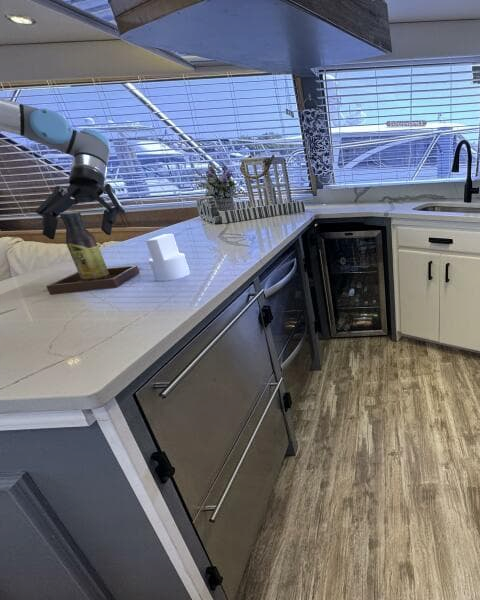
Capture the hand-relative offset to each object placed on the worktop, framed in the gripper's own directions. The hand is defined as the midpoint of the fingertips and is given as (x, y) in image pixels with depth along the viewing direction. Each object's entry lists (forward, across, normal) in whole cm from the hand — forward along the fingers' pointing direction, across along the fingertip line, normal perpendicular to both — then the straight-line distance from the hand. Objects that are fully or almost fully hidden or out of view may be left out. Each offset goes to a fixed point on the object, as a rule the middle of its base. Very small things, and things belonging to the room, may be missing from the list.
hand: (77, 234), depth 89 cm
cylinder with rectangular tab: (+11, -20, -10) cm, 25 cm away
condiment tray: (+10, 0, -10) cm, 14 cm away
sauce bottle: (+10, 0, -10) cm, 14 cm away
